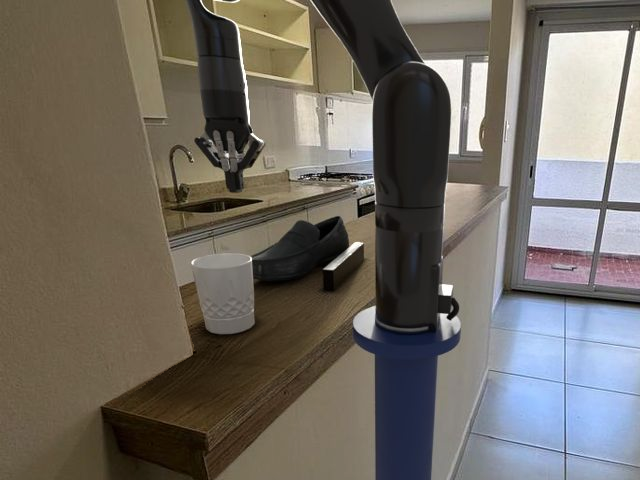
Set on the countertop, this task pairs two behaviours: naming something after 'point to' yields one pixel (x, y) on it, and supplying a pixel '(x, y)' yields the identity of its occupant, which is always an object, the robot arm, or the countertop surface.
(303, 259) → the loafer
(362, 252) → the shoe rail
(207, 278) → the white cup
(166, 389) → the countertop surface
